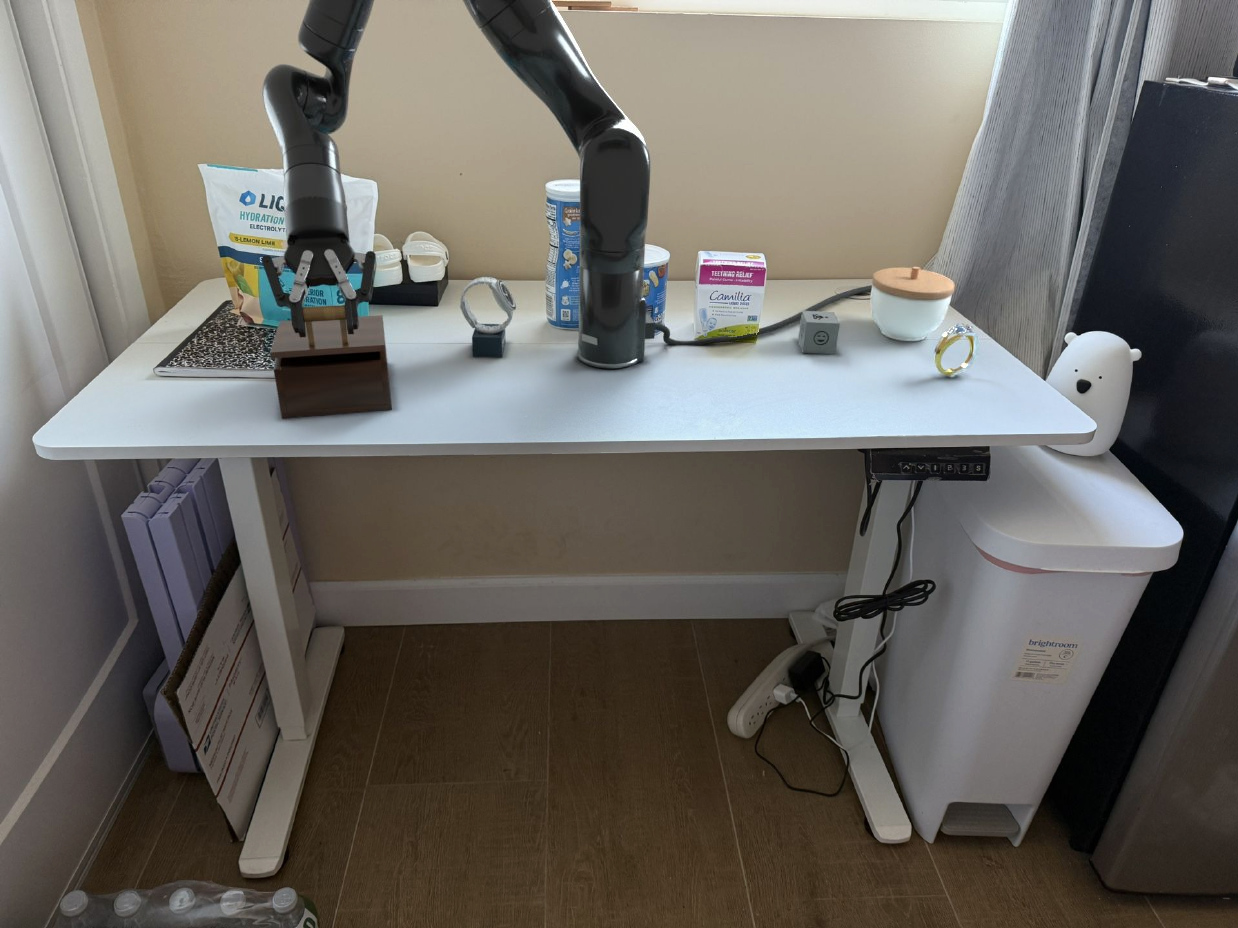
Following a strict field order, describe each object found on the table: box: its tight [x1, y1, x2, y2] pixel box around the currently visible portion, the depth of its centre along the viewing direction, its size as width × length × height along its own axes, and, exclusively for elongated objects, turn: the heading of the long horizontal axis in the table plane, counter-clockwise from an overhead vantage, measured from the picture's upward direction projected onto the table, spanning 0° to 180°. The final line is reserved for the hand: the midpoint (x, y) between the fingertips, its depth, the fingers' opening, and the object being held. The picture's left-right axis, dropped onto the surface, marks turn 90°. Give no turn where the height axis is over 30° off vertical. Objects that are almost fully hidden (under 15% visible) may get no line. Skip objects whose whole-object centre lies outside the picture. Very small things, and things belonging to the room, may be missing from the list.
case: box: [273, 333, 393, 419], centre depth 120 cm, size 15×14×7 cm
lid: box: [269, 304, 387, 359], centre depth 116 cm, size 15×14×6 cm
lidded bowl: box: [869, 266, 956, 342], centre depth 144 cm, size 13×13×11 cm
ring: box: [932, 322, 980, 378], centre depth 130 cm, size 7×3×8 cm, turn 104°
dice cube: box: [797, 310, 841, 355], centre depth 139 cm, size 5×5×5 cm
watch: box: [459, 276, 517, 358], centre depth 132 cm, size 6×8×11 cm
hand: (326, 332), depth 110 cm, fingers closed on lid, 5 cm apart
